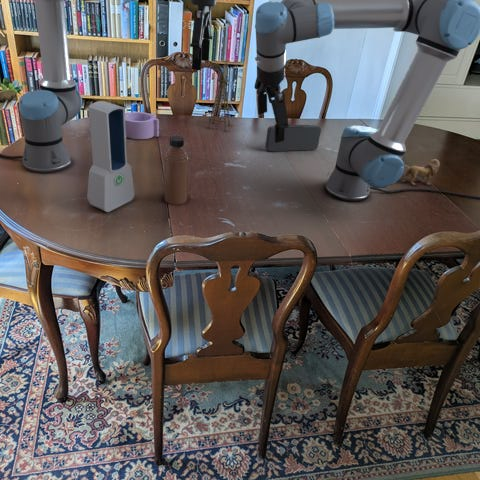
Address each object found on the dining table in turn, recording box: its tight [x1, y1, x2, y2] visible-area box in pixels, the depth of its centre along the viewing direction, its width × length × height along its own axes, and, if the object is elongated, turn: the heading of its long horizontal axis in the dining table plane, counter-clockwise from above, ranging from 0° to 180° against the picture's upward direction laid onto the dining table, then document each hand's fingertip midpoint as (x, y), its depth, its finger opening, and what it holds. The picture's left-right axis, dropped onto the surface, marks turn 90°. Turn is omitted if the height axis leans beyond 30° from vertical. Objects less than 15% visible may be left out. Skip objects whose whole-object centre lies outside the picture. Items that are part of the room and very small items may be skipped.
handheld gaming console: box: [264, 124, 322, 152], centre depth 189 cm, size 23×3×10 cm, turn 108°
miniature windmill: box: [207, 57, 231, 131], centre depth 198 cm, size 9×8×30 cm
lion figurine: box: [400, 158, 441, 186], centre depth 172 cm, size 15×5×9 cm, turn 110°
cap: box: [169, 135, 185, 147], centre depth 137 cm, size 4×4×2 cm
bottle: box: [163, 146, 190, 205], centre depth 142 cm, size 7×7×20 cm
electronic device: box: [86, 100, 135, 213], centre depth 133 cm, size 12×8×30 cm, turn 148°
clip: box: [125, 111, 160, 140], centre depth 188 cm, size 20×12×7 cm, turn 109°
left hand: (200, 65), depth 149 cm, fingers open, 13 cm apart
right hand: (270, 126), depth 140 cm, fingers open, 13 cm apart
